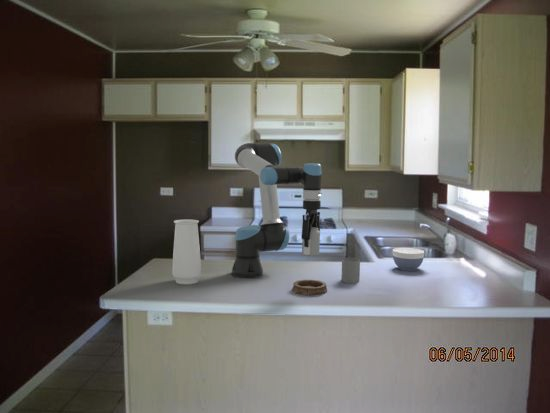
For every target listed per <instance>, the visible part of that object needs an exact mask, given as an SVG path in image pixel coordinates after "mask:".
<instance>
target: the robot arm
mask: <svg viewBox="0 0 550 413" xmlns="http://www.w3.org/2000/svg"><path fill="white" fill-rule="evenodd" d="M234 160H235V163H236V164H237V165H238V166H239V167H240V168H243V169H248V170H250V171H251V172H253V173H254V174H255V175H257V176H258V184H259V185H258V186H259V194H260V195H259V196H260V204H261V214H262V222H261V223H260V225H257V224H256V225H255V224H252V225H251V224H249V225H244V226H240V227H239V228H237V229H236V230H235V237H234V238H235V260H234V262H233V265H232V269H231V275H232V276H233V277H238V278H244V279H245V278H258V277H261V276H263V275H264V269H263V265H262V263H261V258H260V257H261V256H260V253H263V252H264V253H266V252H278V251H283V250H285V249H286V248H287V247H288V245H289V242H290V230H289V228H288V227H287V226H285V224H284V221H282V220H281V217H280V216H281V215H280V206H279V195H278V185H279V186H281V185H302V186H303V187H302V188H303V190H302V199H303V200H302V209H304V210H305V214H302V226H301V227H302V228H301V240H302V239H304V254H306V255H310V240H311V239H310V233H311V227H316V228H318V230H319V231H320V232H321V220H320V219H321V218H320V217H321V212H320V211H318V210H321V203H322V202H321V198H322V197H321V196H322V193H323V192H321V191H322V174H323V172H322V165H321V164H320V163H315V162H314V163H306V162H305V163H304V164H303V167H302V166H291V167H290V166H288V167H287V166H285V167H284V166H282V167H281V166H280V165H281V164H282V152H281V150H280V147H279V146H278V145H277V144H275V143H269V142H247V143H243V144H241V145H240V146H238V147H237V148H236V150H235V153H234Z"/></svg>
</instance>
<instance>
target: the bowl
mask: <svg viewBox="0 0 550 413" xmlns="http://www.w3.org/2000/svg"><path fill="white" fill-rule="evenodd" d="M424 258H425V250H423V249H420V248H417V247H416V248H414V247H395V248H393V249H392V259H393V262H394V264H395V265H396V266H397V267H398V269H399V270H401V271H406V272H410V271H411V272H413V271H417V269H418V268H419V267H421V265H422V263H423V261H424Z"/></svg>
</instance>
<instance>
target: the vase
mask: <svg viewBox="0 0 550 413" xmlns="http://www.w3.org/2000/svg"><path fill="white" fill-rule="evenodd" d="M199 222H200V220H197V219H190V218H187V219H186V218H185V219H175V220H173V223H174V227H175V228H174V237H173V238H174V239H173V253H172V277H174V279H175V283H176V284H178V285H193V284H194V285H195V284H196V283H198V282H199V278H200V277H201V275H202V262H201V261H202V260H201V250H200V248H201V247H200V236H199V235H200V234H199V226H198V224H199Z"/></svg>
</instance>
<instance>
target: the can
mask: <svg viewBox="0 0 550 413" xmlns="http://www.w3.org/2000/svg"><path fill="white" fill-rule="evenodd" d="M310 239H311V240H310V255H306V254H304V239H302V238H301V240H302V241H301V243H302V244H301V254H302V255H303V256H304V257H310V258H311V257H312V258H313V257H318V255H320V244H321V243H320V241H321V240H320V239H321V230H320V231H319V230H318V228H316V227H311V233H310Z"/></svg>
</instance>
